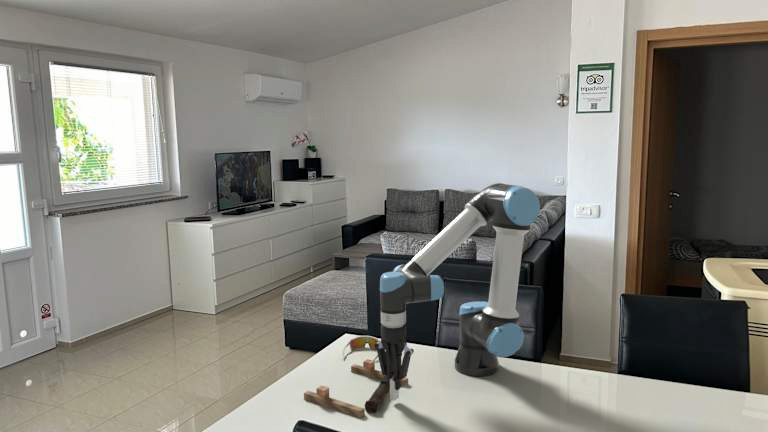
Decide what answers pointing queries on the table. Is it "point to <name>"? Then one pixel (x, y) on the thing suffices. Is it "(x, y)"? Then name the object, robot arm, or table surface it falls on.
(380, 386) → the dark brown wooden log
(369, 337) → the sunglasses
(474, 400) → the table surface
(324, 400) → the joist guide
